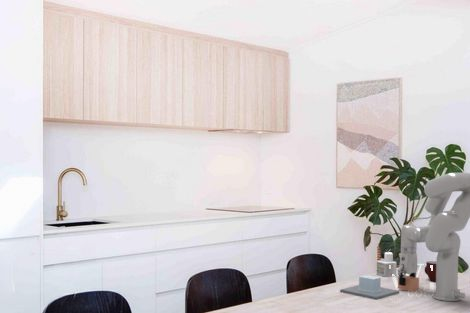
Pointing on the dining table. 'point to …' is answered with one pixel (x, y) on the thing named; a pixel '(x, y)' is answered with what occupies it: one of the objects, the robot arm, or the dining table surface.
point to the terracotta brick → (410, 283)
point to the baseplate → (372, 295)
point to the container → (386, 265)
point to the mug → (428, 270)
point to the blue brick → (369, 283)
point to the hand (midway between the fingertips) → (407, 284)
